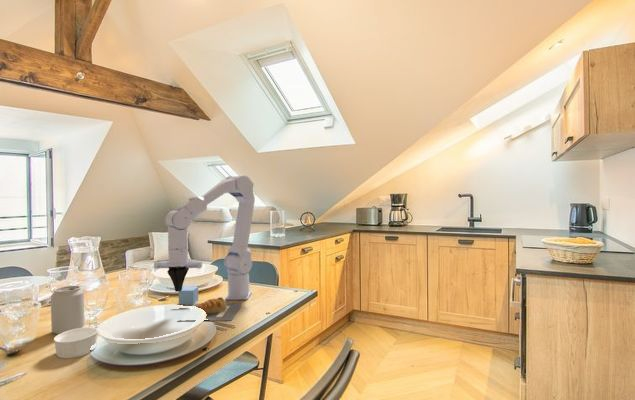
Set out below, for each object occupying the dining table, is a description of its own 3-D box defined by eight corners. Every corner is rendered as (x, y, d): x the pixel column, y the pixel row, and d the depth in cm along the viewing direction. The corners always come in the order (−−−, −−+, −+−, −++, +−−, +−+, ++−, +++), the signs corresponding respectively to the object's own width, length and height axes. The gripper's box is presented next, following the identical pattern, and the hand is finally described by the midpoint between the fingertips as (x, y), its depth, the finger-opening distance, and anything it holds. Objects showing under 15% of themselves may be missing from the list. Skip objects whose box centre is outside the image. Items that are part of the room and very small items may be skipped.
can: (90, 327, 101) (89, 285, 101) (64, 337, 94) (63, 292, 94) (72, 324, 104) (71, 283, 103) (45, 334, 96) (43, 290, 96)
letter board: (195, 304, 121) (195, 303, 121) (242, 303, 121) (242, 303, 121) (177, 321, 105) (177, 320, 105) (231, 320, 105) (231, 320, 105)
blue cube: (184, 300, 125) (183, 286, 125) (198, 300, 125) (198, 286, 125) (178, 305, 120) (178, 290, 120) (193, 305, 120) (193, 290, 120)
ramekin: (64, 363, 80) (64, 344, 80) (47, 354, 84) (46, 336, 84) (105, 348, 87) (105, 331, 87) (87, 341, 92) (87, 324, 92)
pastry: (198, 317, 107) (198, 305, 107) (191, 312, 112) (191, 300, 112) (228, 311, 113) (227, 299, 113) (219, 305, 118) (219, 294, 118)
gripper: (149, 250, 108) (149, 294, 109) (196, 250, 109) (197, 294, 109) (159, 246, 115) (160, 288, 116) (203, 246, 116) (204, 287, 116)
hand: (178, 290), depth 113 cm, fingers closed
